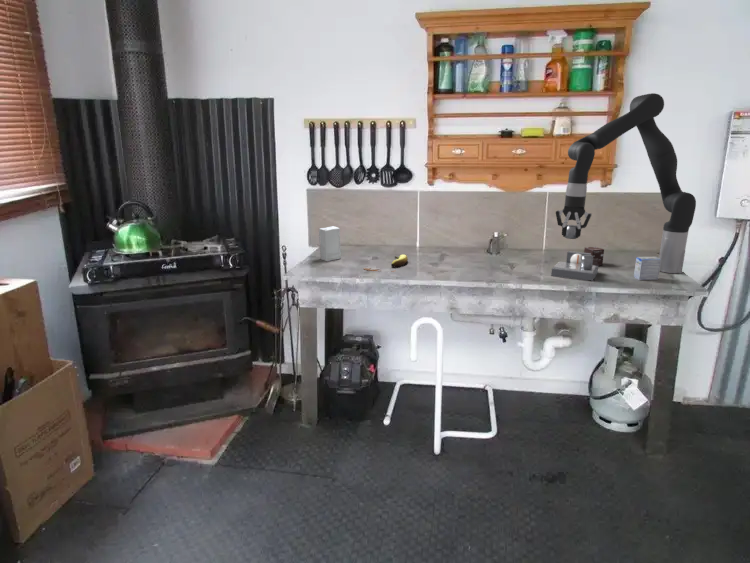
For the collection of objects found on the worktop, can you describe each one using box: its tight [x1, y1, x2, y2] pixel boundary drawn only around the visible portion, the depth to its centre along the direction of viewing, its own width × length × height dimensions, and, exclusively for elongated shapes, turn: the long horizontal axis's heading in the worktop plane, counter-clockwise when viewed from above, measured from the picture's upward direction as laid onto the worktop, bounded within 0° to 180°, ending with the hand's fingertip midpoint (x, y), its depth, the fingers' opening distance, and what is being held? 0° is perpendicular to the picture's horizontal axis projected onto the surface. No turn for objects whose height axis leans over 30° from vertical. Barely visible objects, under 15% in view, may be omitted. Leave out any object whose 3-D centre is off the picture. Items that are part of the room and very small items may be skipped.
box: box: [583, 246, 605, 267], centre depth 233 cm, size 6×6×7 cm
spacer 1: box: [564, 224, 578, 240], centre depth 212 cm, size 4×4×5 cm
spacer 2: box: [580, 255, 593, 269], centre depth 213 cm, size 4×4×5 cm
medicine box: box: [633, 256, 661, 281], centre depth 211 cm, size 8×4×9 cm, turn 92°
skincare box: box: [318, 225, 342, 262], centre depth 243 cm, size 8×6×15 cm
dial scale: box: [550, 250, 599, 282], centre depth 217 cm, size 16×14×8 cm
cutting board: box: [363, 254, 426, 273], centre depth 238 cm, size 35×27×4 cm
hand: (570, 236), depth 212 cm, fingers closed on spacer 1, 4 cm apart
